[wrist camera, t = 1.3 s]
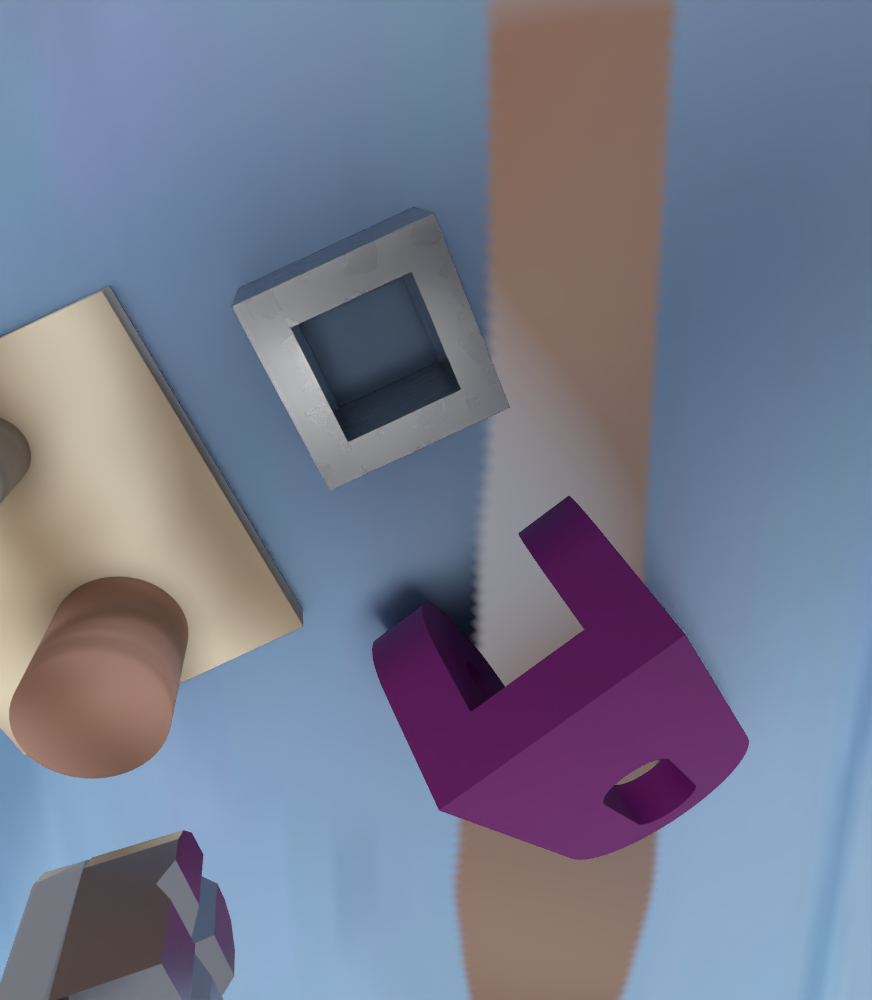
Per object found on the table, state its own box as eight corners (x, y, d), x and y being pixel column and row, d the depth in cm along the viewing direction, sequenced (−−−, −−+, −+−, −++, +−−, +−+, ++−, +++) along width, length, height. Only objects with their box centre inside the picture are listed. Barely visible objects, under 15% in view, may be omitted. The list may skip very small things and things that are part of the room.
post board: (109, 285, 26) (50, 325, 19) (302, 610, 32) (307, 725, 25) (-222, 439, 26) (-395, 531, 19) (33, 735, 32) (-32, 882, 25)
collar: (413, 207, 26) (433, 213, 23) (481, 377, 29) (509, 407, 25) (238, 287, 26) (231, 306, 23) (323, 451, 29) (329, 490, 25)
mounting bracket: (656, 627, 43) (545, 461, 29) (761, 760, 37) (687, 633, 24) (517, 726, 44) (346, 611, 30) (600, 870, 38) (438, 809, 24)
